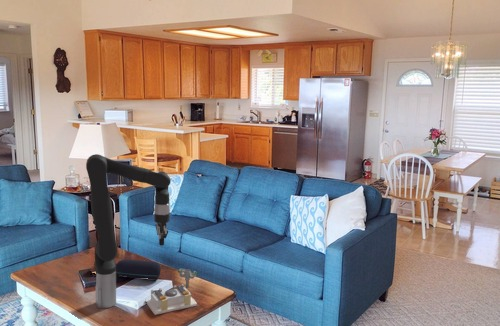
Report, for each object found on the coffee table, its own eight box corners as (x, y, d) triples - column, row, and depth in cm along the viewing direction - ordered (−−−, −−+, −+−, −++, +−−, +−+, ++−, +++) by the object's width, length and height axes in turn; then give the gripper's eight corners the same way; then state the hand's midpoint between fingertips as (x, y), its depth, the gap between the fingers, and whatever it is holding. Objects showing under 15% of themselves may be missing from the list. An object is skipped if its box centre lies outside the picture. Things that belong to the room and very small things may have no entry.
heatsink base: (154, 314, 215) (154, 302, 214) (145, 301, 228) (145, 289, 226) (197, 305, 226) (197, 293, 225) (185, 292, 239) (186, 281, 237)
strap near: (161, 301, 217) (161, 298, 217) (153, 292, 227) (153, 289, 227) (166, 300, 218) (166, 297, 218) (158, 291, 228) (158, 288, 228)
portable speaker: (163, 275, 258) (163, 259, 256) (158, 283, 248) (158, 266, 247) (120, 272, 260) (120, 256, 258) (114, 279, 250) (114, 262, 249)
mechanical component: (195, 290, 242) (195, 272, 241) (177, 287, 244) (177, 270, 243) (196, 287, 245) (197, 270, 243) (179, 285, 247) (179, 268, 245)
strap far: (184, 296, 223) (184, 293, 223) (176, 287, 233) (176, 284, 233) (189, 295, 224) (189, 292, 224) (180, 286, 234) (180, 283, 234)
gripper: (150, 209, 227) (150, 241, 230) (159, 216, 216) (158, 250, 219) (164, 207, 230) (164, 239, 234) (173, 214, 219) (173, 248, 222)
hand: (161, 245), depth 226 cm, fingers closed
